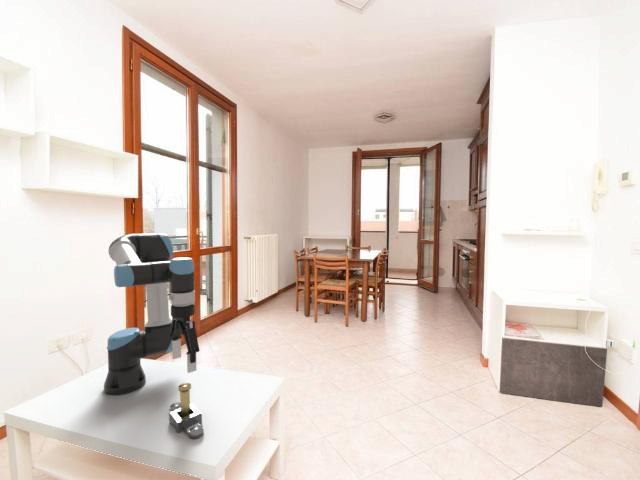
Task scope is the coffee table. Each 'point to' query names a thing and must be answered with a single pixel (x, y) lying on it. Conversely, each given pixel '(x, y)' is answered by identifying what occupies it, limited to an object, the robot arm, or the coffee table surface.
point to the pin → (185, 399)
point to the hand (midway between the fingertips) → (184, 364)
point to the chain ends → (186, 421)
